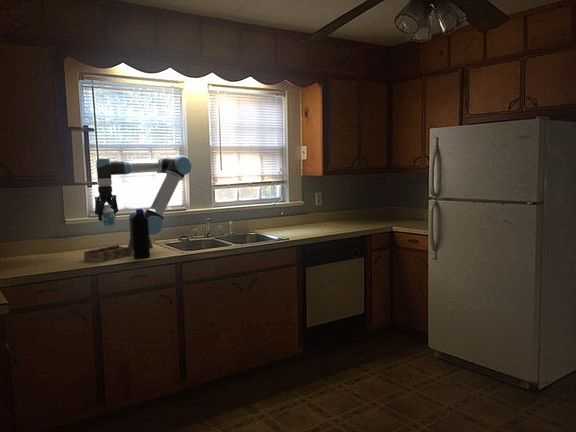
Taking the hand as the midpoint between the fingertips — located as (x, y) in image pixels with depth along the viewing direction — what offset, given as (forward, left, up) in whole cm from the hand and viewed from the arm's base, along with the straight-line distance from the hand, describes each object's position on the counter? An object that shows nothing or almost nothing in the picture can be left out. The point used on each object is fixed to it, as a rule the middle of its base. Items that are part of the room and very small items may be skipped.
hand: (107, 225), depth 284 cm
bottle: (-8, +18, -19) cm, 27 cm away
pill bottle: (0, 0, -2) cm, 2 cm away
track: (0, 0, -19) cm, 19 cm away
